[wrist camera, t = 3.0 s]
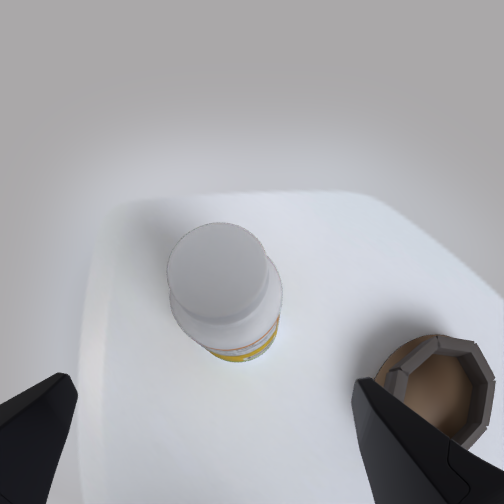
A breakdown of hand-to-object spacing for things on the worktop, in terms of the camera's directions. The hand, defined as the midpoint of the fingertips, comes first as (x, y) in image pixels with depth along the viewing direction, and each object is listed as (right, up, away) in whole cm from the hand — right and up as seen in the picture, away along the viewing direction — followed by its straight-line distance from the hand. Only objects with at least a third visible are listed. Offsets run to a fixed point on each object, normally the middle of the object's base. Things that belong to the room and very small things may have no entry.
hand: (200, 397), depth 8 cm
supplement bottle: (+1, -1, +12) cm, 12 cm away
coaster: (+14, -6, +9) cm, 18 cm away
